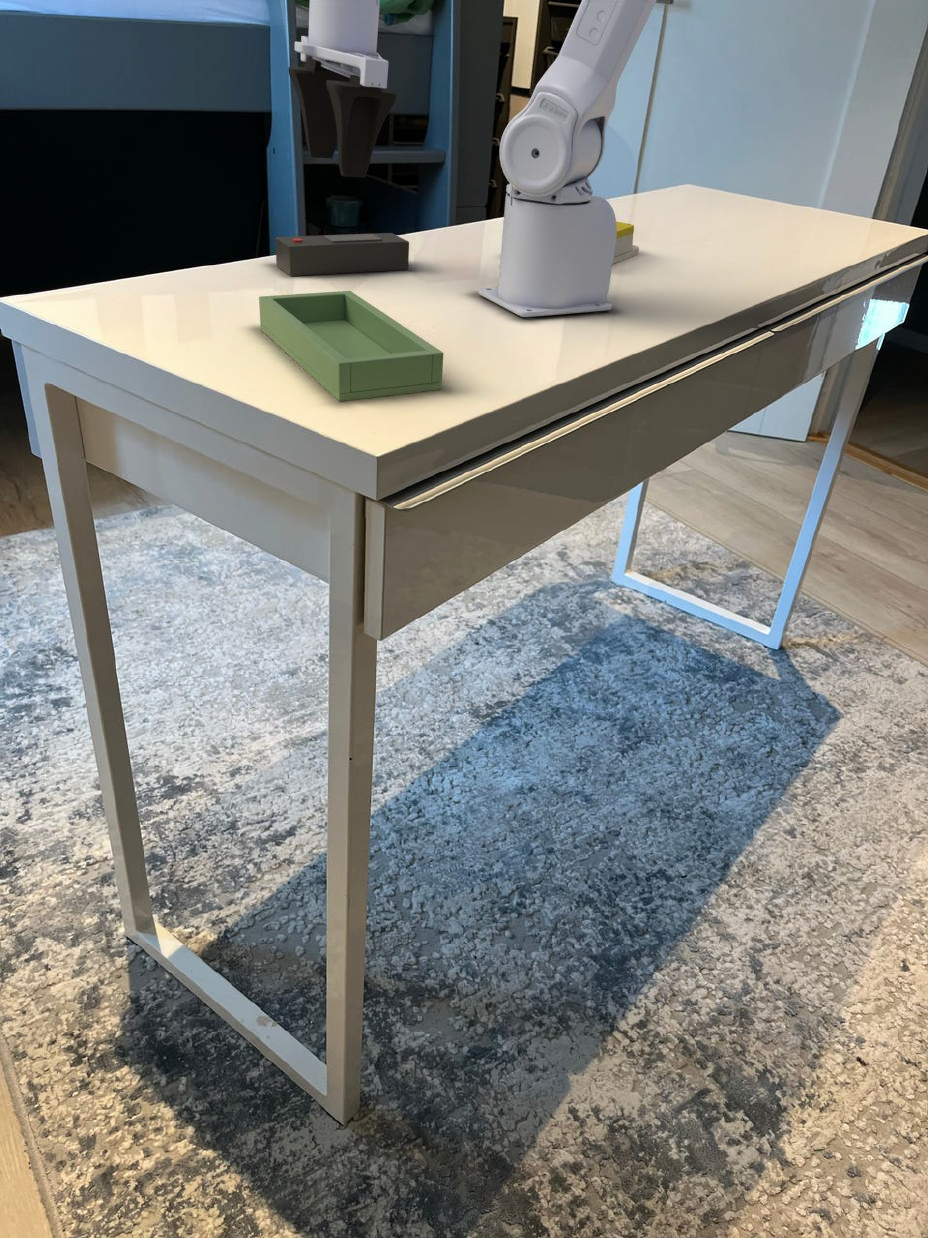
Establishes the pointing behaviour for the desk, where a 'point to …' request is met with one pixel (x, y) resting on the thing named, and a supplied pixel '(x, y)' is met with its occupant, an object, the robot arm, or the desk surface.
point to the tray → (350, 345)
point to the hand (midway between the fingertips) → (336, 166)
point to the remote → (341, 253)
